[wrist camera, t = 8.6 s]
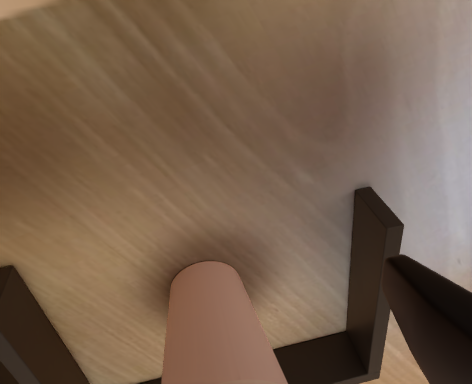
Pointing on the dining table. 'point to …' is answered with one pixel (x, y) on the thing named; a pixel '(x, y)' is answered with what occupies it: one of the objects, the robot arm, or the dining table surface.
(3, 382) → the power block
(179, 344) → the smoothie
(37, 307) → the brown u-shaped frame
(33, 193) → the dining table surface
